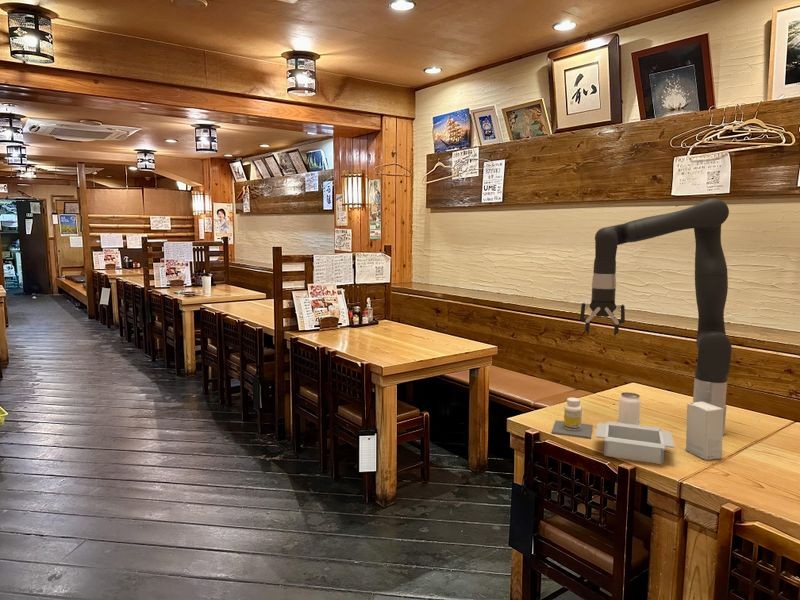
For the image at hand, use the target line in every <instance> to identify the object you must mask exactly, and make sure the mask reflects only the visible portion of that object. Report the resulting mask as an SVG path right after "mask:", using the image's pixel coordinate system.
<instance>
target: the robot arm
mask: <svg viewBox="0 0 800 600" xmlns="http://www.w3.org/2000/svg"><path fill="white" fill-rule="evenodd" d="M729 215H730V210H729V207H728V204H727V203H726V202H724V200H721V199H719V198H716V197H715V198H714V197H713V198H712V197H711V198H706V199H703V200H701V201H699V202H697V203H696V204H694V205H693V206H689V207H687V208H684V209H680V210H676V211H672V212H669V213H663V214H658V215H652V216H651V215H650V216H647V217H642V218H638V219H634V220H630V221H628V222H625V223H621V224H615V225H611V226H610V225H609V226H606V227H602V228H600V229H598V230H597V231H596V233H595V236H594V242H595V243H594V244H595V247H594V248H595V249H594V250H595V251H594V252H595V257H594V261H593V271H592V273H593V274H592V279H591V280H592V281H591V297H590V298H591V301H590V303H585V302H582V303H581V306H580V315H579V316H580V317H579V320H580V321H582V322H584V323H585V326H584V328H585V332H586V333H587V334H588V335H590V330H591V322H590V321H591V320H592V319H593V318H595V316H596V317H598V318H600V317H604V318H609V317H610V319H611V320H612V321H613V323H614V325H613V326H614V327H613V336H617V335H618V334H619V331H620V330H619V326H620V325H621V324H624V323H625V322H626V317H625V316H626V315H625V313H626V312H625V311H626V310H625V309H626V306H625V305H624V304H616V289H617V287H616V286H617V276H616V274H617V273H616V272H617V260H616V259H617V257H616V256H617V252H618V251H617V250H618V246H620V245H623V244H624V245H625V244H627V243H636V242H641V241H646V240H650V239H654V238H656V237H660V236H661V237H662V236H664V235H668V234H671V233H676V232H680V231H684V230H691V229H693V231H694V232H693V233H694V241H695V252H694V288H695V290H694V291H695V298H696V299H695V300H696V305H697V314H698V320H697V321H698V322H697V332H696V333H697V334H696V348H697V350H698V351H697V361H696V367H695V370H694V371H695V372H694V381H693V382H694V383H693V397H692V403H694V402H705V403H708V404H711V405H714V406H717V407H720V408H723V436H724V435H725V430H726V418H727V405H726V401H727V400H726V399H727V387H728V379H729V378H728V377H729V374H730V369H731V361H732V360H731V359H732V351H733V350H732V342H731V340H730V339H729V337H728V336H727V333H726V326H725V318H724V317H725V316H724V315H725V309H726V308H725V307H726V303H727V296H728V292H729V291H728V289H729V287H728V286H729V278H728V277H729V275H728V274H729V273H728V266H727V261H726V257H725V254H724V250H723V246H722V237H721V236H722V225H723V224H724V223H725V222H726V221H727V220H728V217H729ZM589 308H590V310H591V311H592V312H590V314H589V315H588V317H585V312H586V311H587V310H588V309H589ZM616 309H617V310H618V312H620V319H618V318H617V316H616V315H615V314H614V311H616Z"/></svg>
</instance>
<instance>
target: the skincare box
mask: <svg viewBox="0 0 800 600" xmlns="http://www.w3.org/2000/svg"><path fill="white" fill-rule="evenodd" d="M686 405H687V406H686V430H685V431H686V432H685V433H686V435H685V436H686V438H685V451H687V452H688V453H691V454H693V455H695V456H697V457H699V458H701V459H703V460H705V461H710V460H722V458H723V440H724V439H723V436H724V435H723V408H720V407H717V406H714V405H711V404H708V403H705V402H694V403H693V402H687V404H686Z"/></svg>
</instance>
